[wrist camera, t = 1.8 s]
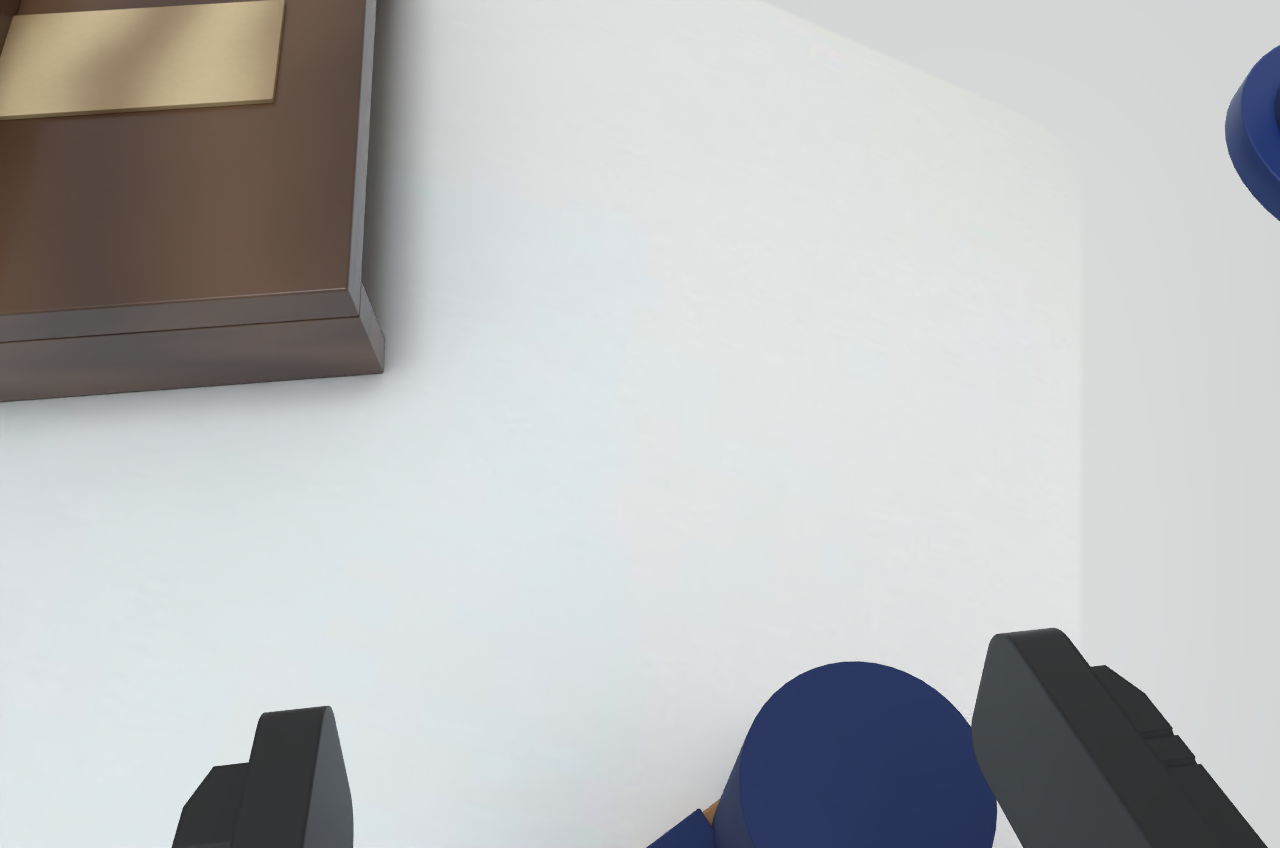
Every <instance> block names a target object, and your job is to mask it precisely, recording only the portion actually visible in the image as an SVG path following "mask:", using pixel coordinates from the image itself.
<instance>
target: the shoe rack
mask: <svg viewBox="0 0 1280 848" xmlns="http://www.w3.org/2000/svg"><path fill="white" fill-rule="evenodd" d="M375 18H376V0H0V402H1V401H14V400H27V399H41V398H54V397H67V396H81V395H94V394H107V393H120V392H134V391H147V390H160V389H174V388H187V387H200V386H214V385H227V384H240V383H254V382H267V381H280V380H293V379H307V378H320V377H333V376H347V375H360V374H373V373H383V367H384V342H385V338H384V336H383V333H382V331H381V328H380V326H379V323H378V321H377V318H376V316H375V313H374V311H373V308H372V306H371V304H370V301H369V299H368V296H367V294H366V291H365V289H364V286H363V284H362V281H361V270H362V252H363V234H364V216H365V198H366V180H367V162H368V144H369V126H370V108H371V90H372V72H373V54H374V36H375Z"/></svg>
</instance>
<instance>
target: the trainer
mask: <svg viewBox="0 0 1280 848" xmlns="http://www.w3.org/2000/svg"><path fill="white" fill-rule="evenodd" d="M996 820H997V802H996V797H995V796H994V794H993V792H992V790H991V788H990V787H989V785H988V783H987V781H986V779H985V778H984V776H983V774H982V772H981V770H980V768H979V765H978V763H977V760H976V757H975V753H974V749H973V743H972V733H971V726H970V725H969V724H968V722H967V721H966V720H965V718H964V717H963V716H962V714H961V713H960V712H959V711H958V710H957V709H956V708H955V707H954V706H953V705H952V704H951V703H950V702H949V701H948V700H947V699H946V698H945V697H944V696H943V695H941V694H940V693H939V692H938V691H937V690H935V689H934V688H932V687H931V686H929V685H928V684H926V683H925V682H923V681H922V680H920V679H918V678H916V677H914V676H912V675H910V674H908V673H906V672H903V671H901V670H898V669H895V668H892V667H889V666H885V665H881V664H876V663H868V662H839V663H833V664H827V665H824V666H821V667H817V668H814V669H811V670H809V671H807V672H805V673H803V674H800V675H798V676H797V677H795V678H794V679H792V680H791V681H789V682H787V683H786V684H785V685H784V686H782V687H781V688H780V689H779V690H778V691H776V692H775V693H774V694H773V695H772V696H771V698H770V699H769V700H768V701H767V702H766V703H765V704H764V706H763V707H762V709H761V710H760V712H759V713H758V715H757V716H756V718H755V719H754V721H753V724H752V726H751V728H750V730H749V732H748V734H747V736H746V739H745V741H744V743H743V746H742V748H741V751H740V753H739V755H738V758H737V760H736V763H735V765H734V767H733V770H732V772H731V775H730V777H729V779H728V782H727V784H726V786H725V789H724V791H723V794H722V796H721V798H720V799H719V800H718V801H717V802H715V803H714V804H713V805H711V806H710V807H709V808H708V809H706V810H705V811H704V812H702V811H701V809H697V810H696V811H694V812H693V813H692V814H691V815H689V816H688V817H687V818H685V819H684V820H683V821H681V822H680V823H679V824H677V825H676V826H675V827H673V828H672V829H671V830H669V831H668V832H667V833H665V834H664V835H663V836H661V837H660V838H659V839H657V840H656V841H655V842H653V843H652V844H651V845H649V846H648V847H647V848H992V845H993V841H994V836H995V831H996Z"/></svg>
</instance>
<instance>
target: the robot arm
mask: <svg viewBox="0 0 1280 848" xmlns="http://www.w3.org/2000/svg"><path fill="white" fill-rule="evenodd" d="M1275 112H1276V119H1277V124H1278V127H1279V130H1280V87H1279V90H1278V93H1277V96H1276V103H1275ZM971 733H972V743H973V749H974V753H975V757H976V760H977V763H978V765H979V768H980V770H981V772H982V774H983V776H984V778H985V779H986V781H987V783H988V785H989V787H990V788H991V790H992V792H993V794H994V796H995V797H996V799H997V801H998V803H999V805H1000V806H1001V808H1002V810H1003V812H1004V814H1005V815H1006V817H1007V819H1008V821H1009V823H1010V824H1011V826H1012V828H1013V830H1014V832H1015V833H1016V835H1017V837H1018V839H1019V841H1020V842H1021V844H1022V846H1023V848H1268V847H1267V846H1266V845H1265V844H1264V842H1263V841H1262V840H1261V839H1260V837H1259V836H1258V835H1257V834H1256V832H1255V831H1254V830H1253V829H1252V827H1251V826H1250V825H1249V823H1248V822H1247V821H1246V820H1245V819H1244V817H1243V816H1242V815H1241V813H1239V811H1238V810H1237V809H1236V807H1235V806H1234V805H1233V803H1232V802H1231V801H1230V800H1229V799H1228V797H1227V796H1226V795H1225V794H1224V792H1223V791H1222V790H1221V788H1220V787H1219V786H1218V785H1217V783H1216V782H1215V781H1214V780H1213V778H1212V777H1211V776H1210V775H1209V773H1208V772H1207V771H1206V770H1205V768H1204V767H1203V766H1202V765H1201V764H1197V763H1196V761H1195V756H1194V754H1193V753H1192V752H1191V751H1190V750H1189V748H1188V747H1187V746H1186V745H1185V743H1184V742H1183V741H1182V739H1181V738H1180V737H1179V736H1178V735H1174V734H1173V731H1172V727H1171V726H1170V724H1169V723H1168V722H1167V721H1166V719H1165V718H1164V717H1163V716H1162V714H1161V713H1160V712H1159V711H1158V709H1157V708H1156V707H1155V706H1154V704H1153V703H1152V702H1151V701H1150V699H1149V698H1148V697H1147V695H1146V694H1145V693H1143V692H1142V691H1141V690H1139V689H1138V688H1137V687H1135V686H1134V685H1132V684H1131V683H1129V682H1128V681H1127V680H1125V679H1124V678H1123V677H1121V676H1120V675H1118V674H1117V673H1116V672H1114V671H1113V670H1111V669H1110V668H1109V667H1107V666H1106V665H1102V666H1094V667H1090V666H1089V664H1088V663H1087V662H1086V660H1085V659H1084V658H1083V656H1082V655H1081V654H1080V652H1079V651H1078V650H1077V648H1076V647H1075V646H1074V644H1073V643H1072V642H1071V641H1070V639H1069V638H1068V637H1067V636H1066V634H1064V633H1063V632H1062V631H1061V630H1059V629H1057V628H1047V629H1038V630H1029V631H1020V632H1011V633H1002V634H996V635H995V636H994V637H993V638H992V639H991V641H990V643H989V647H988V651H987V655H986V660H985V664H984V669H983V673H982V677H981V682H980V686H979V691H978V695H977V700H976V704H975V709H974V713H973V717H972V726H971ZM172 848H353V808H352V799H351V793H350V788H349V783H348V779H347V774H346V769H345V764H344V760H343V755H342V750H341V746H340V741H339V736H338V731H337V727H336V722H335V718H334V714H333V711H332V708H331V707H330V706H321V707H312V708H303V709H294V710H285V711H276V712H267V713H263V714H262V715H261V717H260V719H259V721H258V725H257V729H256V733H255V737H254V742H253V746H252V750H251V755H250V759H249V763H240V764H232V765H223V766H215V767H213V768H212V770H211V771H210V772H209V774H208V775H207V776H206V778H205V779H204V780H203V782H202V783H201V784H200V786H199V787H198V788H197V790H196V791H195V792H194V794H193V795H192V796H191V798H190V799H189V800H188V802H187V803H186V804H185V806H184V807H183V810H182V813H181V817H180V820H179V824H178V827H177V831H176V834H175V838H174V841H173V845H172Z"/></svg>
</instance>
